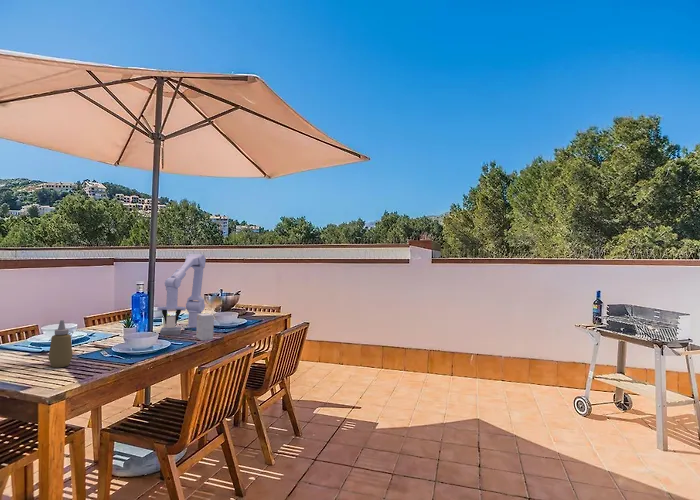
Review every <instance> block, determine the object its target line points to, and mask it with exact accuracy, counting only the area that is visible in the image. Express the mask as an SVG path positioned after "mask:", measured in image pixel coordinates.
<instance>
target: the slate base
mask: <svg viewBox="0 0 700 500" xmlns="http://www.w3.org/2000/svg"><path fill="white" fill-rule="evenodd" d="M159 331H160V332H159V333H160V334H159V336H180V335H181V332H182V327H181V326H175V328H166V326H165V327H164V326H163V327H161V328H160V330H159Z"/></svg>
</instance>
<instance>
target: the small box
mask: <svg viewBox="0 0 700 500" xmlns="http://www.w3.org/2000/svg"><path fill="white" fill-rule="evenodd" d="M214 319H215V315H214V314H212V313H208V312H207V313H203V312H201V314H197V327H196V333H195V335H196V336H195V338H196V339H198V340H200V341H209V340H210V341H211V340H214V325H215V324H214V322H215V321H214Z"/></svg>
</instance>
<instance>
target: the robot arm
mask: <svg viewBox="0 0 700 500" xmlns="http://www.w3.org/2000/svg"><path fill="white" fill-rule="evenodd" d="M206 261H207V260H206V257H205V255H204V254H202V253H201V254H198V253H197V254H196V253H195V254H194V253H187V254H186V256H185V261H184V263H183V264H182V266H181V267H180V268H177V269H176V270H175V271H174V272H173V274H172V275H171V276H170V277H167V278H166V279H165V282H164V286H165V290H166V304H165V306H157V310H156V311H161V313H162V315H163V319H164V322H165V323H164V324H165V325H166V321H167V316H168V311H169V312H170V311H175V316H176V321H175V324H178V319H179V317H180V315H181V312H182V311H187V313H188V321H187V327H186V328H187V329H188V328H189V329H190V328H192V329H193V328H195V329H196V328H197V314H202V313H203V311H204V310H205V306H206V304H205V299H204V298H203V297H202V294H201V293H202V285H203V278H204V269H205V266H206ZM190 268H192V269H193V271H194V272H193V279H192V287H191V288H192V289H191V295H190V296H189V297H188V298H187V301H186V303H185V306H178V299H179V298H178V296H179V288H180V286H181V283H182V281H183V279H184V278H185V277H186V275H187V273H186V272H187V271H188V270H189V269H190Z"/></svg>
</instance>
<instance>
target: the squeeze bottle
mask: <svg viewBox="0 0 700 500" xmlns="http://www.w3.org/2000/svg"><path fill="white" fill-rule="evenodd" d="M69 330H70V329H69V328H66V325H65V320H64V319H62V320H60V321H59V324H58V328H57V329H54V335H52V336H51V339H50V346H49V351H48V360H49V363H50V367H51V368H57V369H58V368H65V367H68V366H69V365H70V363H71V361H72V359H73V346H72V335H70V334H69V332H70V331H69Z"/></svg>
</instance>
